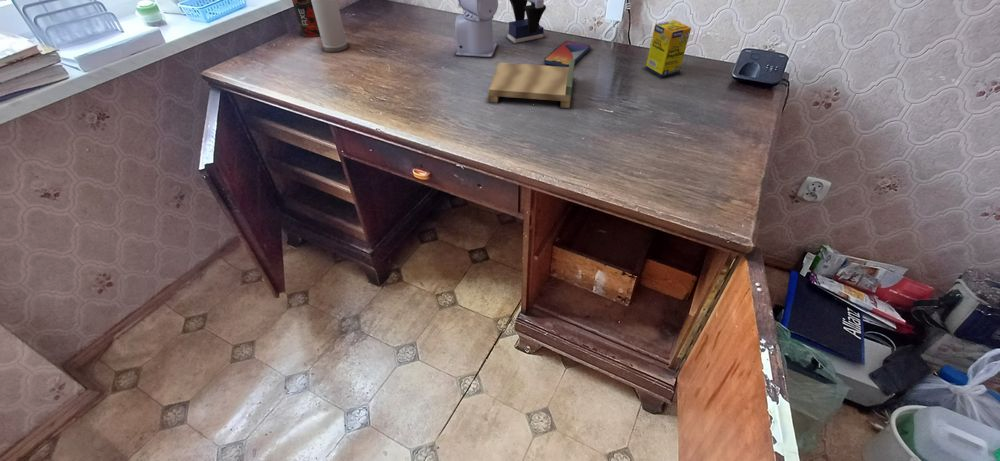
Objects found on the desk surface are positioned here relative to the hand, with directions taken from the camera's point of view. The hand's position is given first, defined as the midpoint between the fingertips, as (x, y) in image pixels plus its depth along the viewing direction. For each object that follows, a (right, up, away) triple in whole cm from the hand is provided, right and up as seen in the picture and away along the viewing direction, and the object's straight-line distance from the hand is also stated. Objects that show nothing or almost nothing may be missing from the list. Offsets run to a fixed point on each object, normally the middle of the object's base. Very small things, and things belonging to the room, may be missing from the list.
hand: (526, 27), depth 129 cm
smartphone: (+10, -11, -8) cm, 17 cm away
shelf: (0, -24, -21) cm, 32 cm away
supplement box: (+33, -17, -14) cm, 39 cm away
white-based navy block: (0, -2, +2) cm, 3 cm away
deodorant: (-61, 0, +5) cm, 61 cm away
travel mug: (-52, -7, -3) cm, 52 cm away
